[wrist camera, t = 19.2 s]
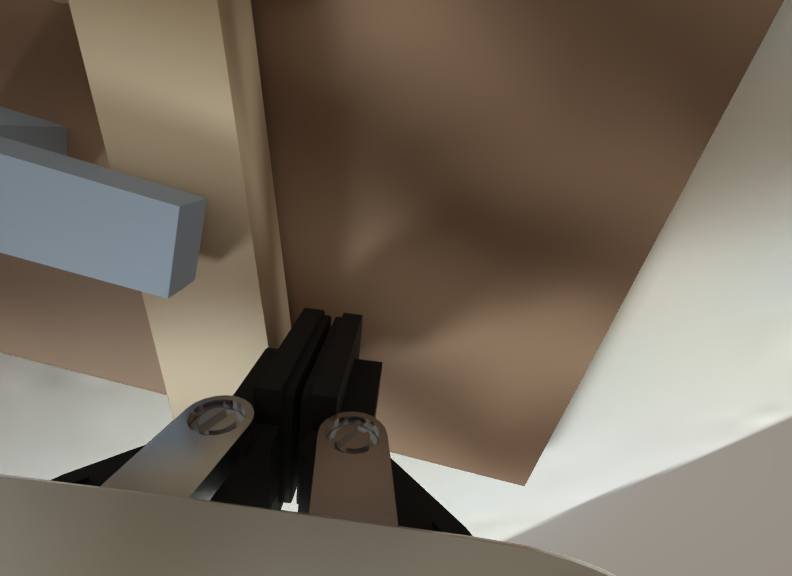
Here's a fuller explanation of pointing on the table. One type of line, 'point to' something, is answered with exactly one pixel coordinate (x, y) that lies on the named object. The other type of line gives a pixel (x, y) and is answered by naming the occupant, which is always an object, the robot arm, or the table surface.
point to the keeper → (92, 213)
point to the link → (195, 173)
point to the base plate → (428, 192)
